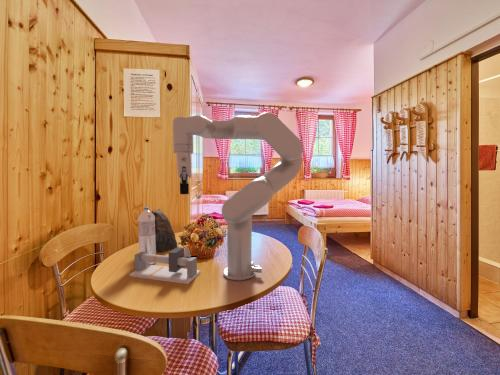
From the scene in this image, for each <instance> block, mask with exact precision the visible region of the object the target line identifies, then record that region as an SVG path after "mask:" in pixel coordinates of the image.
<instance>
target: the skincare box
mask: <svg viewBox="0 0 500 375" xmlns="http://www.w3.org/2000/svg"><path fill="white" fill-rule="evenodd" d="M185 233H186V230H185V231H184V235H185ZM184 258H191V254H190V251H189V249H188V248H186V247H185V246H184Z"/></svg>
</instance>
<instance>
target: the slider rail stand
mask: <svg viewBox="0 0 500 375" xmlns="http://www.w3.org/2000/svg"><path fill="white" fill-rule="evenodd" d="M197 260H198V258H197V257H184V258H182V257H179V258H177V261H178V265H180V266H184V267H186V268H184V267H183V268H181V269H180V270H179V271H177V272H169V266H165V265H169V255H161V254H156V255H153V254H145V252H140V253H139V252H138V253H135V254H134V271H132V272H130V273H129V277H131V278H140V279H146V280H153V281H162V282H163V281H164V282H169V283H176V284H185V285H189V284H190V283H191V282H192V281H193V280H195V279H196V277H198V276H199V275H200V274H201V270H200V269H199V270H198V267H197V266H198V264H197V263H198V261H197ZM146 262H153V263H155V264H153V265H149V264H146ZM156 264H163V265H156Z"/></svg>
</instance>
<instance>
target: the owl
mask: <svg viewBox="0 0 500 375" xmlns="http://www.w3.org/2000/svg"><path fill="white" fill-rule="evenodd" d="M151 212H152V213H153V214H154V216H155V234H156V235H155V236H156V253H159V254H160V253H161V254H162V253H164V252H168V251H171V250H173V249H175V248H177V247H178V241H177V239H176V235H175V231H174V230H173V228H172V227H173V226H172V225H171V221H170V220H169V217H168V216H167V215H166V213H165V212H163V210H161V208H158V209H154V210H152V211H151Z"/></svg>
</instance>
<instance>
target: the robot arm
mask: <svg viewBox="0 0 500 375" xmlns="http://www.w3.org/2000/svg"><path fill="white" fill-rule="evenodd" d="M172 136H173V137H172V142H173V144H172V145H173V154H176V166H177V176H178V178H179V179H180V180H179V193H180V195H189V194H190V193H189V191H190V187H189V186H190V184H189V179H192V159H191V158H192V157H191V156H192V155H191V154H194V136H197V137H201V138H204V139H211V140H213V139H214V140H215V139H216V140H264V141H265V142H266V144H268V145H269V147H271V148H272V149H273V150H274V151H275V153H277V154H278V155H279V157H280V158H279V160H278V162H277V163H276V164H274V165H273V166H272V167H271V168H269V169H268V171H266V172H264V174H262V175H261V176H259V177H258V178H257V177H256V178H255V179H253V180H251V181H250V182H248V183H247V184H246V185H244V187H242V188H240V189H239V190H238V191H237V192H235V193H233V195H232V196H230V197H229V198H228V199H226V200H225V201H224V203H223V204H222V207H221V215H222V218H223V219H224V221H225V222H227V228H226V229H227V232H226V233H227V237H226V238H227V240H226V241H227V245H226V246H227V250H226V252H227V256H226V257H227V267H225V268H224V270H223V276H224V277H225V278H226V279H229V280H230V281H231V280H232V281H247V280H249V278H250V279H252V278H254V277H255V275H256V273H257V274H262V272H263V268H262V267H261V265H255V264H254V261H253V260H252V246H253V244H252V238H253V237H252V235H253V234H252V232H253V231H252V228H253V227H252V224H253V223H252V222H253V215H254V214H256V213H257V212H258V211H260V210H261V209H262V208H264V207H265V206H266V205H268V203H269V202H270V201H271V199H272V198H273V196H275V195H276V194H277V193H278V192H280V191H281V190H282V189H283V188H284V187H286V186H287V185H288V184H289V183H290V182H292V181H293V180H294V179H295V178H296V177H297V176H298V174H299V172H300V170H301V168H302V164H303V151H304V148H303V147H304V145H303V142H302V141H301V139H299V137H298V136H297V135H296V134H295V132H293V131H292V130H291V129H290V128H289V127H288V126H287V125H286V124H285V123H284V122H283V121H282V120H281V119H280V118H279V117H278V116H277V115H276V114H274V113H272V112H267V111H266V112H263V113H261V114H259V115H257V116H256V115H253V116H252V115H237V116H236V115H235V116H233V117H232V118H231V119H226V120H210V118H208V117H206V116H203V115H199V114H198V115H192V116H176V117H174V118H173V120H172ZM253 276H254V277H253ZM251 277H252V278H251ZM246 279H247V280H246Z"/></svg>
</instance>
